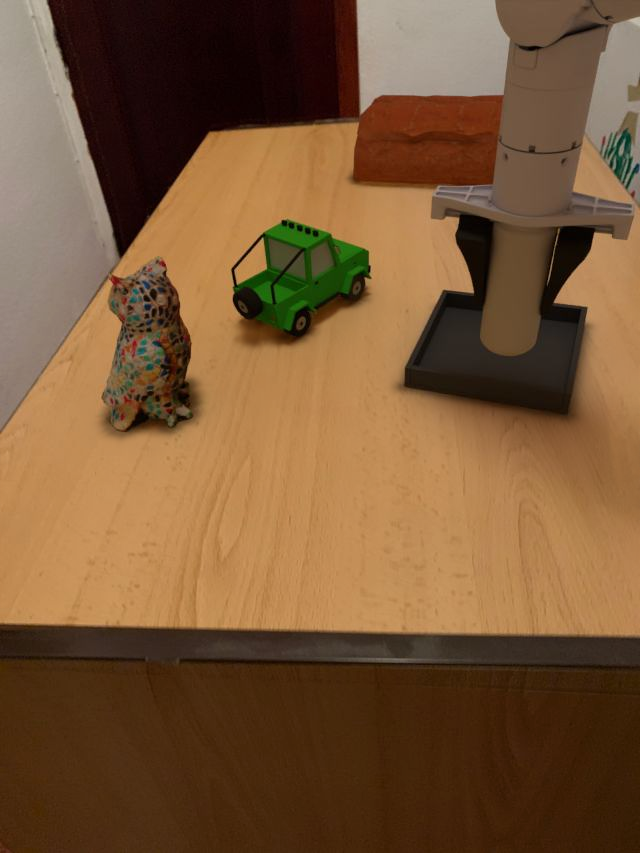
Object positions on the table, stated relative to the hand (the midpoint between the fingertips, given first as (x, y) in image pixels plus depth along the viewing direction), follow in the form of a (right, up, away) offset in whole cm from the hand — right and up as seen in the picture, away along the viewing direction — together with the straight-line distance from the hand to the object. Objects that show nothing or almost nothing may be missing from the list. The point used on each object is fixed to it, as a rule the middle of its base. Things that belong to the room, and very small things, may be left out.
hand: (513, 305), depth 55 cm
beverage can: (0, -3, +3) cm, 4 cm away
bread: (+3, +31, +50) cm, 59 cm away
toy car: (-18, +3, +21) cm, 28 cm away
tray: (+2, -3, +12) cm, 12 cm away
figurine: (-32, -8, +10) cm, 35 cm away
